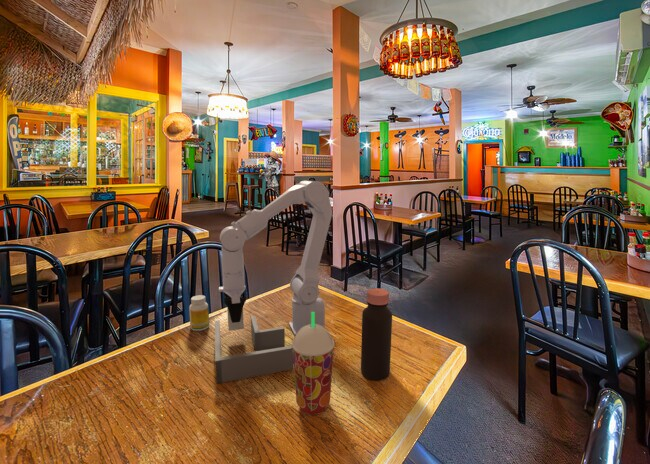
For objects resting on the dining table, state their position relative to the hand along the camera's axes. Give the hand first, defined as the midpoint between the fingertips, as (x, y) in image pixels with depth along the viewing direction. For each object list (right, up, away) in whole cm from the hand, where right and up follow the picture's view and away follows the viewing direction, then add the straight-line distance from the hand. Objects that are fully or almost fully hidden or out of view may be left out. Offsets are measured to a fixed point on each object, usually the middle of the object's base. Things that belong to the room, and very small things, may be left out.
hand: (235, 318), depth 91 cm
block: (0, -2, 0) cm, 2 cm away
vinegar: (+37, -9, -14) cm, 40 cm away
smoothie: (+22, -11, -25) cm, 35 cm away
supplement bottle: (-13, -5, +8) cm, 16 cm away
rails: (+5, -8, -5) cm, 11 cm away
